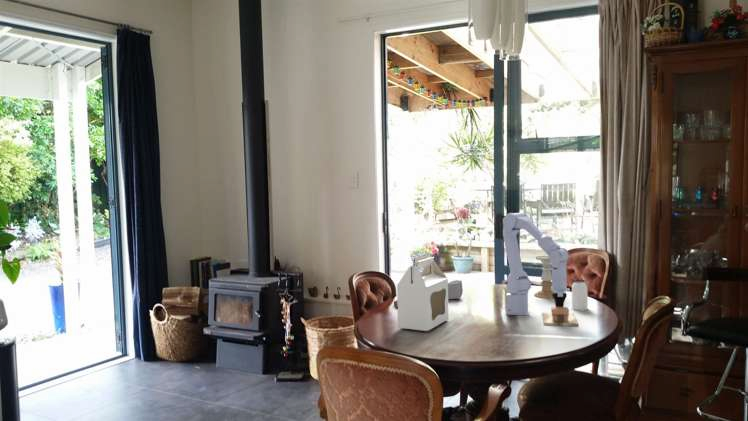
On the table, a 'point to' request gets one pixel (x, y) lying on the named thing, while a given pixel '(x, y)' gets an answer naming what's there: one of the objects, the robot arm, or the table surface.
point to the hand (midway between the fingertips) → (559, 311)
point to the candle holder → (545, 278)
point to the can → (579, 296)
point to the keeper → (560, 312)
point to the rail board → (559, 320)
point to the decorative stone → (455, 289)
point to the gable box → (422, 296)
